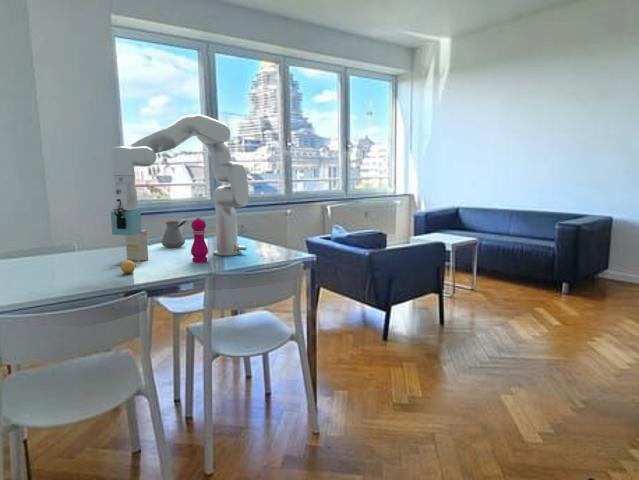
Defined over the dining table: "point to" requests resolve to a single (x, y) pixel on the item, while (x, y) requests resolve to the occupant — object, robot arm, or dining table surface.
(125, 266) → the ball
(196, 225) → the pepper mill
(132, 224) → the teal square block
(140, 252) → the supplement box
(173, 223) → the coffee pot
